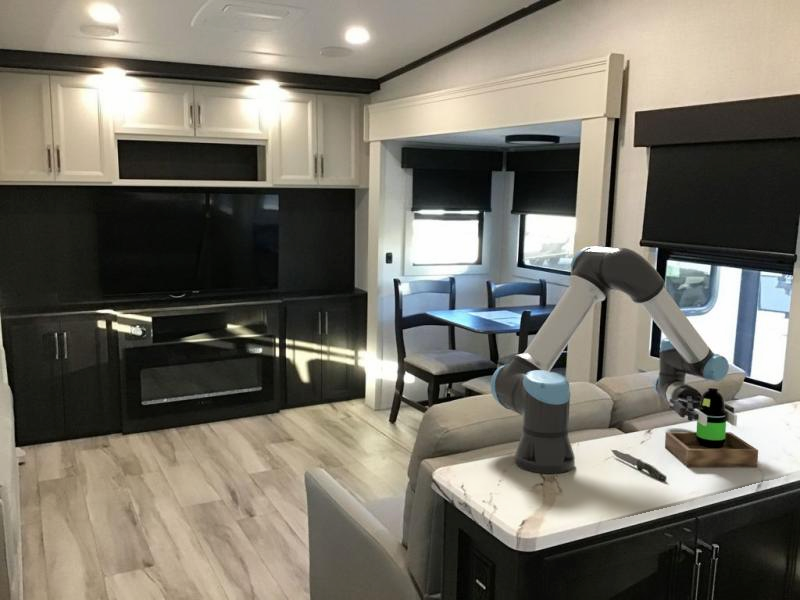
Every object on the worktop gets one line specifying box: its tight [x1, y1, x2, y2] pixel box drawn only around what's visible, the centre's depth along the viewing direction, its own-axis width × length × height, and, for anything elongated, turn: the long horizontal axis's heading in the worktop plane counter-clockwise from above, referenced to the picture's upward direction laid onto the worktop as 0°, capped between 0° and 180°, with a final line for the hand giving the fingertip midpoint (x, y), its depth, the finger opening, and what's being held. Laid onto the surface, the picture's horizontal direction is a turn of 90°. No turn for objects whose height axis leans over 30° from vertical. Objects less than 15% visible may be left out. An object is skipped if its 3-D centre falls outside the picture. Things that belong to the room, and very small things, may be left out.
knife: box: [610, 449, 667, 482], centre depth 177 cm, size 20×1×3 cm, turn 22°
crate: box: [664, 431, 759, 468], centre depth 185 cm, size 18×15×4 cm
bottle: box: [696, 388, 727, 449], centre depth 184 cm, size 7×7×15 cm
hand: (720, 420), depth 179 cm, fingers closed on bottle, 7 cm apart
